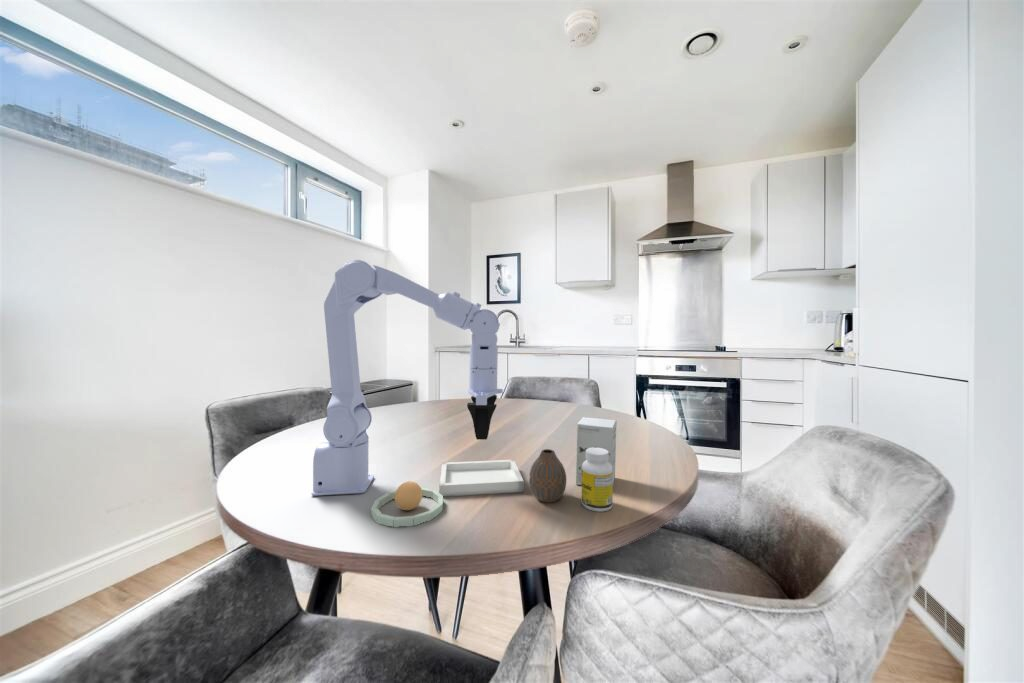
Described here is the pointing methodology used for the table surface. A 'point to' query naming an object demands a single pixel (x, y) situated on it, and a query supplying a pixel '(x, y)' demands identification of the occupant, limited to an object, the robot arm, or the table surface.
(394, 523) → the ring
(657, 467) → the table surface
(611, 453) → the supplement box
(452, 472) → the tray
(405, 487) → the ball
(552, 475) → the vase
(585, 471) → the supplement bottle
